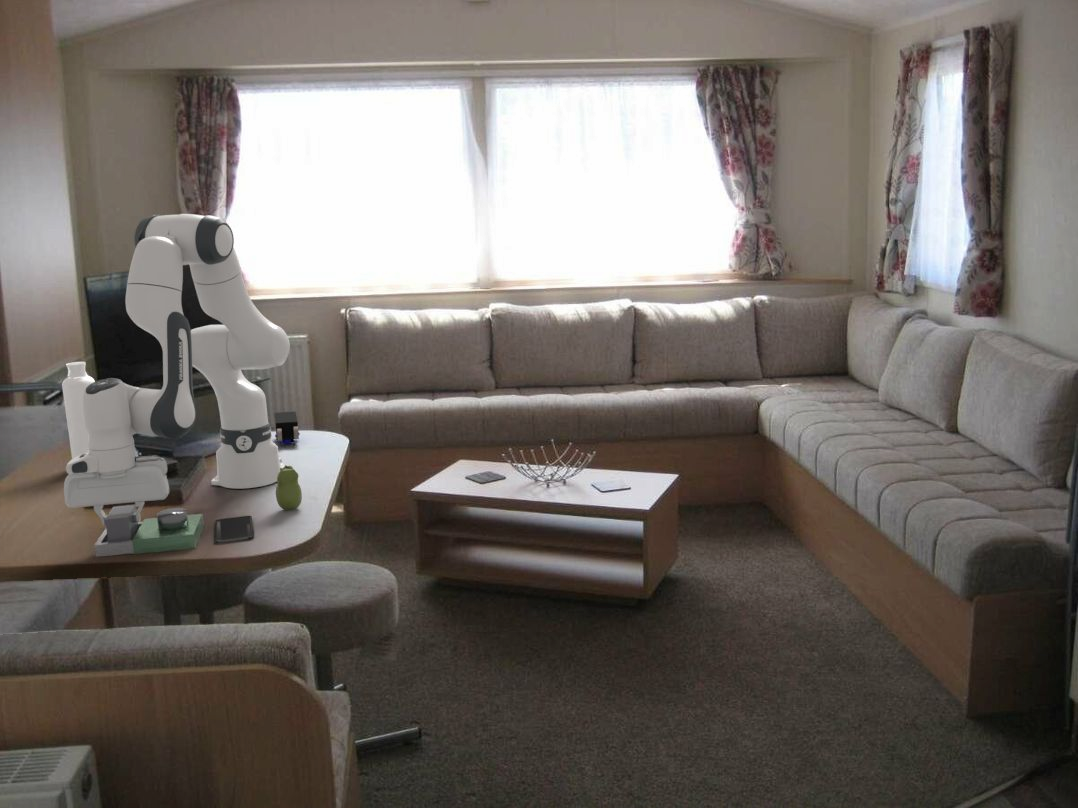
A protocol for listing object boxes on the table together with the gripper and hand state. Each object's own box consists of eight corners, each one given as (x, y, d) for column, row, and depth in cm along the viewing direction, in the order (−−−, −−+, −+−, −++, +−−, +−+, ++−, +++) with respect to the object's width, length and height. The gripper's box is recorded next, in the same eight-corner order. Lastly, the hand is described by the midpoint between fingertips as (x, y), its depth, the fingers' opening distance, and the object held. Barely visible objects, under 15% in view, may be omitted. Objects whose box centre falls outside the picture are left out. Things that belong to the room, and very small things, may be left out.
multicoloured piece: (109, 535, 239) (106, 508, 237) (203, 526, 242) (200, 500, 240) (95, 557, 225) (91, 529, 224) (195, 548, 228) (191, 520, 227)
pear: (300, 504, 254) (296, 461, 252) (305, 510, 250) (301, 467, 248) (275, 508, 252) (271, 465, 250) (280, 515, 247) (275, 471, 245)
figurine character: (302, 451, 309) (298, 433, 322) (300, 425, 306) (295, 408, 320) (277, 454, 307) (274, 435, 321) (275, 427, 304) (271, 410, 318)
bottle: (70, 467, 297) (56, 363, 291) (102, 461, 301) (88, 359, 295) (77, 473, 290) (62, 367, 284) (109, 467, 295) (95, 363, 289)
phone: (214, 541, 230) (215, 519, 244) (215, 546, 230) (216, 524, 244) (254, 536, 232) (252, 514, 246) (254, 541, 232) (253, 519, 246)
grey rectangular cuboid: (116, 529, 236) (113, 506, 235) (138, 526, 237) (135, 504, 236) (108, 543, 228) (104, 519, 227) (131, 540, 228) (128, 517, 227)
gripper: (168, 450, 233) (175, 513, 236) (65, 459, 230) (74, 523, 233) (163, 458, 227) (171, 523, 230) (57, 467, 224) (66, 532, 227)
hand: (121, 523), depth 232 cm, fingers closed on grey rectangular cuboid, 4 cm apart
